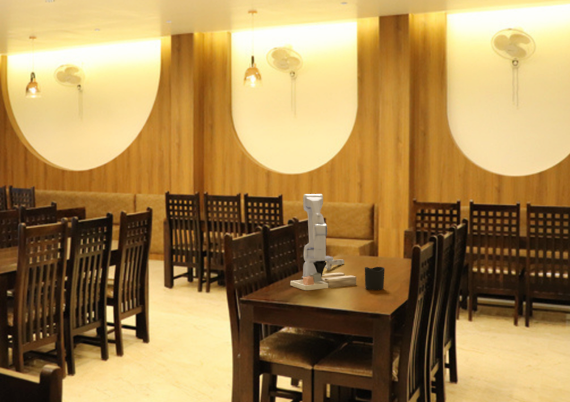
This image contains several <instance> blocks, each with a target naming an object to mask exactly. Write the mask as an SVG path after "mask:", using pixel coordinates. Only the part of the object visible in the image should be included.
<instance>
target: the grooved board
mask: <svg viewBox="0 0 570 402" xmlns="http://www.w3.org/2000/svg"><path fill="white" fill-rule="evenodd" d="M321 281H322V282H326V283H328V288H329V289H330V288H331V289H332V288H340V287H347V286H348V287H349V286H357V276H354V275H346V274H345V273H344V272H333V273H325V274H324V273H323V274H322V277H321ZM328 288H327V289H328Z"/></svg>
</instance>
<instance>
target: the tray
mask: <svg viewBox="0 0 570 402" xmlns="http://www.w3.org/2000/svg"><path fill="white" fill-rule="evenodd" d="M290 286H291V287H293V288H297V289H300V290H303V291H312V290H313V291H314V290H320V289H323V290H324V289H328V283H326V282H322V281H318V282H314V285H304V283H303V279H298V280H290Z"/></svg>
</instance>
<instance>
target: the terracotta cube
mask: <svg viewBox="0 0 570 402" xmlns="http://www.w3.org/2000/svg"><path fill="white" fill-rule="evenodd" d="M302 277H303V276H302ZM302 280H303V283H304V285H314V279H313V277H311V276H307V277H303V278H302Z"/></svg>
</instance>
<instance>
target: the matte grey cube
mask: <svg viewBox="0 0 570 402" xmlns="http://www.w3.org/2000/svg"><path fill="white" fill-rule="evenodd" d="M310 276H311V277H313V279H314V282H318V281H321V274H320V273H317V272H315V273H311V274H310Z"/></svg>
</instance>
